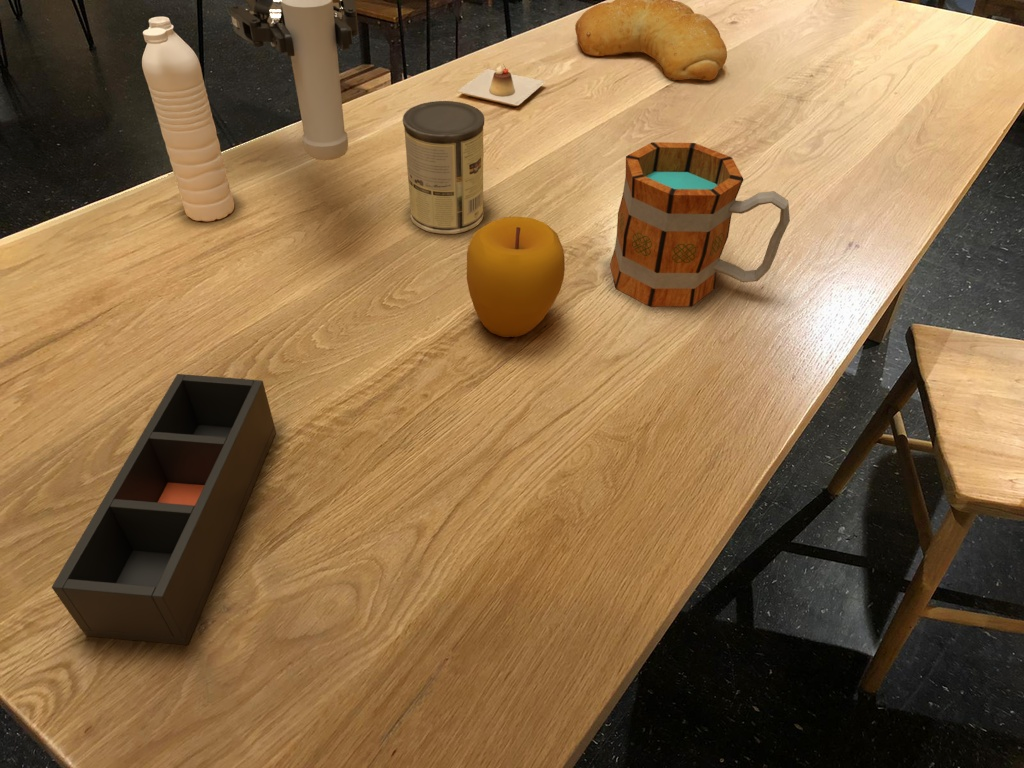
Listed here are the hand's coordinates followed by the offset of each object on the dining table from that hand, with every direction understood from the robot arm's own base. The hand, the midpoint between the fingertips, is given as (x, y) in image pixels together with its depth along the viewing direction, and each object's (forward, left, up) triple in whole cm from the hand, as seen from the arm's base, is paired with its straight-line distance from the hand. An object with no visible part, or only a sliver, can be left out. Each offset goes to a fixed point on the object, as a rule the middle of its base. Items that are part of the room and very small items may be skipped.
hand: (317, 43), depth 78 cm
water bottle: (-21, +9, -27) cm, 36 cm away
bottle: (-1, +2, -13) cm, 13 cm away
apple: (+22, -10, -27) cm, 36 cm away
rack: (-4, -41, -27) cm, 49 cm away
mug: (+43, +1, -27) cm, 51 cm away
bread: (+43, +79, -27) cm, 94 cm away
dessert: (+15, +56, -27) cm, 64 cm away
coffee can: (+11, +13, -27) cm, 32 cm away
